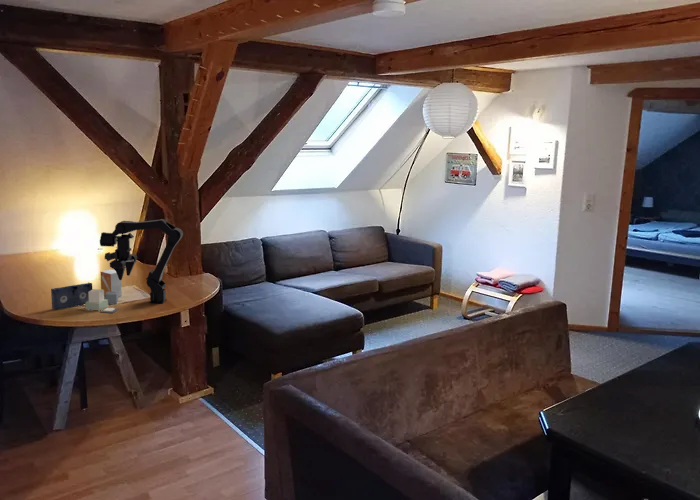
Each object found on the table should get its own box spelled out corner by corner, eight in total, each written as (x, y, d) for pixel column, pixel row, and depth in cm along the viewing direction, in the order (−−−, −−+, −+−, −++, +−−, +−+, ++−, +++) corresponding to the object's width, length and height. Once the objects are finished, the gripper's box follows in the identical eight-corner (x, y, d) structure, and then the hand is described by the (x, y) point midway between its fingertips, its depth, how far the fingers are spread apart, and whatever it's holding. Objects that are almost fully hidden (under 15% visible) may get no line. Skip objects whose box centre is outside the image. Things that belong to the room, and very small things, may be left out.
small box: (101, 296, 280) (99, 271, 278) (111, 293, 286) (110, 269, 283) (111, 298, 276) (110, 273, 274) (122, 296, 282) (121, 271, 279)
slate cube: (118, 301, 274) (118, 291, 273) (116, 304, 269) (116, 294, 268) (107, 301, 273) (107, 291, 272) (105, 304, 268) (105, 294, 267)
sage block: (108, 307, 264) (107, 299, 263) (99, 311, 257) (99, 303, 256) (94, 306, 265) (94, 298, 264) (85, 310, 258) (85, 302, 257)
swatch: (118, 309, 261) (118, 307, 261) (112, 313, 255) (112, 311, 255) (105, 308, 261) (105, 307, 261) (100, 312, 255) (100, 310, 255)
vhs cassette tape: (91, 301, 270) (90, 282, 268) (93, 303, 268) (92, 283, 267) (51, 309, 257) (50, 288, 255) (54, 310, 255) (52, 289, 253)
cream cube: (104, 299, 262) (103, 289, 262) (99, 302, 258) (99, 292, 257) (93, 299, 262) (93, 289, 261) (88, 302, 258) (88, 291, 257)
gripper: (115, 242, 278) (116, 272, 281) (98, 249, 260) (99, 281, 263) (137, 243, 278) (138, 273, 281) (121, 250, 260) (122, 282, 263)
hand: (124, 277), depth 272 cm, fingers open, 9 cm apart
